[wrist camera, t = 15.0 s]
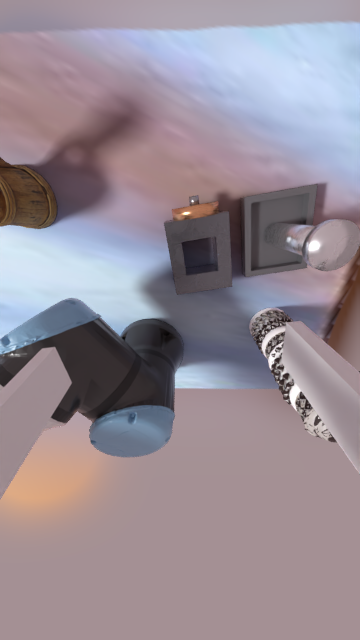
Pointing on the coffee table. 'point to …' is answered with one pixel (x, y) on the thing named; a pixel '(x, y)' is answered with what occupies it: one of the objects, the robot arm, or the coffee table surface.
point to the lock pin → (317, 242)
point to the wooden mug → (25, 198)
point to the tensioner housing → (192, 227)
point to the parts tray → (268, 210)
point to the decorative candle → (270, 341)
